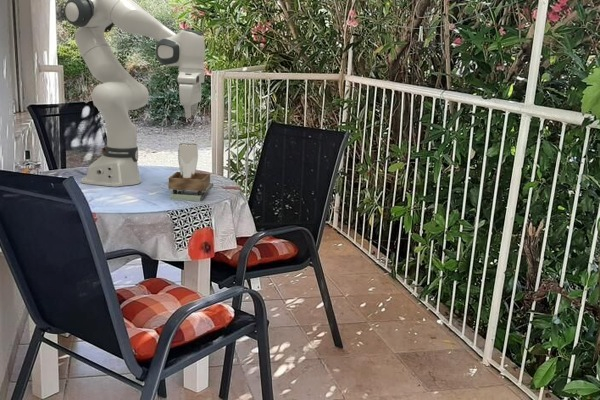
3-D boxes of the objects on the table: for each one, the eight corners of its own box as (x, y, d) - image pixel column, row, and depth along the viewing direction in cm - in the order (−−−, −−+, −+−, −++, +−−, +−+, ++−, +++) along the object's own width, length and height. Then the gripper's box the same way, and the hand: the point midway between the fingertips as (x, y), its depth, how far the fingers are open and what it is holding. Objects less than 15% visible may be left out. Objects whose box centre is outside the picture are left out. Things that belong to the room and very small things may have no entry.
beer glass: (201, 186, 218) (201, 145, 215) (184, 188, 214) (185, 146, 210) (190, 182, 223) (191, 142, 220) (174, 184, 219) (174, 143, 215)
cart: (168, 195, 216) (168, 178, 214) (176, 187, 228) (176, 171, 226) (203, 197, 215) (203, 180, 214) (209, 189, 228) (210, 173, 226)
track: (170, 199, 215) (170, 194, 214) (186, 183, 241) (186, 179, 241) (200, 201, 215) (200, 195, 214) (213, 185, 241) (213, 180, 241)
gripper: (189, 75, 223) (188, 113, 226) (176, 77, 203) (175, 118, 206) (206, 76, 222) (205, 114, 226) (194, 78, 203) (194, 119, 206)
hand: (190, 116), depth 216 cm, fingers open, 8 cm apart
